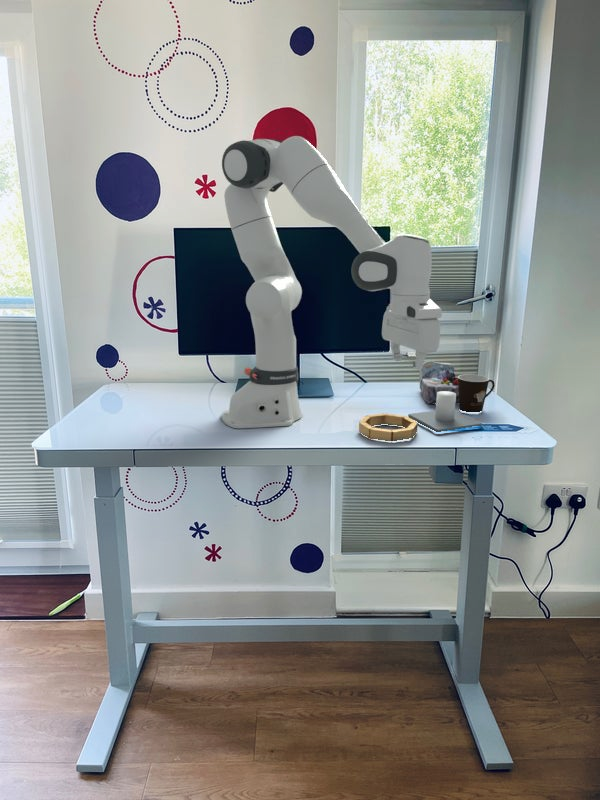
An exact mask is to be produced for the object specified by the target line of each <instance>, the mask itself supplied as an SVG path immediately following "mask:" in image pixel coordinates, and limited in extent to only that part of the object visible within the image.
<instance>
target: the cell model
mask: <svg viewBox="0 0 600 800" xmlns="http://www.w3.org/2000/svg"><path fill="white" fill-rule="evenodd" d="M418 375H419V376H418V383H419V389H420V393H421V396H422V398H424V399H425V400H424V399H423V400H424V401H426V403H427V402H428V403H427V404H429V403H436V399H437V392H440V391H449V392H454V393H456V403H459V393H458V377H456V374H455V365H453V364H452V363H449V362H436V361H433V360H427V361H424V362H423V368H422V369H419V374H418Z"/></svg>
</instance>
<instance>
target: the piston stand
mask: <svg viewBox="0 0 600 800" xmlns="http://www.w3.org/2000/svg"><path fill="white" fill-rule="evenodd" d="M455 403H456V393H454V392H449V391H440V392H437V399H436V404H435V410H430V411H429V410H428V411H421V412H414V413H408V416H407V417H409V418H411V419H413V420H415V421H417V422H418V423H420V424H422V425H424V426H426V427H428V428H430V429H432V430H434V431H436V432H441V431H447V430H455V429H461V428H466V427H472V426H481V425H482V426H483V425H484V424H483V423H482V422H481V421H479V420H476V419H474V418H472V417H470V416H468V415H467V414H464V413H461V412H460V411H457V410H456V404H455Z"/></svg>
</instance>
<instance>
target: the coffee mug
mask: <svg viewBox="0 0 600 800" xmlns="http://www.w3.org/2000/svg"><path fill="white" fill-rule="evenodd" d="M457 378H458V393H459V404H458V410H459V409H460V410H462V411H466V412H480V411H482V412H483V411H484V410H483V409H484V405H485V400H486V398H487V397H488V396H489V395H491V393H492V392H493V391H494V389H495V386H496V385H495V382H494V380H492V379H490V378H489V377H488V376H484V375H481V374H472V373H468V374H467V373H466V374H459V375H458V376H457ZM489 383H491V384H492V387H491V388H490V390H489V391H488V387H489Z"/></svg>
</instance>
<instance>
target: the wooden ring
mask: <svg viewBox="0 0 600 800" xmlns="http://www.w3.org/2000/svg"><path fill="white" fill-rule="evenodd" d="M381 424H388V425H397V426H403V427H405V428H398V429H395V428H394V429H386V428H381V427H379V428H378V427H372V426H374V425H381ZM418 426H419V425H418V423H417V422H416V421H414V420H413V419H411V418H409V417H408V416H406V415H402V414H395V413H394V414H392V413H387V412H385V413H375V414H369V415H365V416H363V418H361V419H360V420H359V422H358V433H359V432H360V433H362V434H363V435H365V436H367V437H368V438H370V439H378V440H385V441H397V440H403V439H409V438H413V436H414V435H415V434H416V432H417V433H418Z"/></svg>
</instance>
